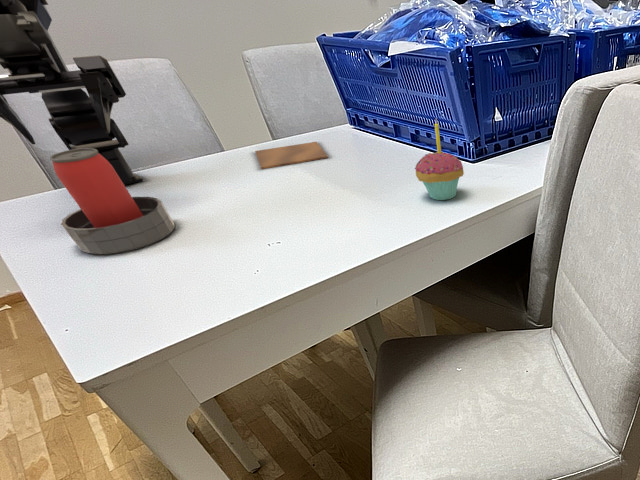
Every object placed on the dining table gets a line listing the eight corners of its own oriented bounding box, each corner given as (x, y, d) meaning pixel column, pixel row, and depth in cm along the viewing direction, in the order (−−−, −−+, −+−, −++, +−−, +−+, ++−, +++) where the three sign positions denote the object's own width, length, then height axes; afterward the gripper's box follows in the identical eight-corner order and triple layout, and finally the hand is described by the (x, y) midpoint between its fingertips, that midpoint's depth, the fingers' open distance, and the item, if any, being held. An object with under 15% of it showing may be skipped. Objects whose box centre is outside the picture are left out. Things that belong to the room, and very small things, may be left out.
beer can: (128, 245, 69) (70, 161, 61) (93, 242, 70) (32, 159, 62) (161, 227, 74) (112, 147, 65) (128, 225, 75) (75, 146, 66)
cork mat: (261, 169, 96) (260, 167, 95) (255, 152, 105) (254, 151, 104) (328, 158, 100) (327, 156, 100) (317, 143, 109) (316, 141, 109)
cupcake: (428, 186, 86) (416, 114, 77) (471, 188, 85) (463, 115, 76) (414, 203, 80) (398, 127, 71) (460, 205, 79) (449, 128, 70)
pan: (70, 240, 72) (51, 215, 69) (158, 214, 79) (144, 190, 76) (95, 263, 65) (75, 237, 63) (188, 233, 72) (174, 208, 70)
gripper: (-123, -11, 55) (-56, 108, 56) (64, -17, 62) (120, 88, 64) (-52, 61, 65) (4, 161, 66) (102, 48, 73) (150, 138, 74)
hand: (70, 136), depth 67 cm, fingers open, 9 cm apart
